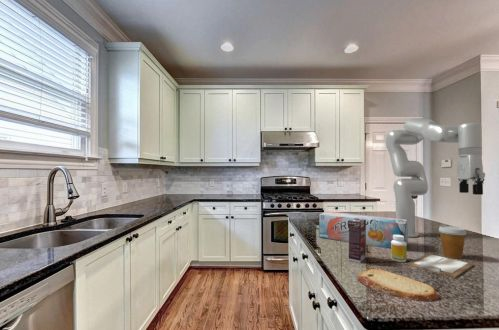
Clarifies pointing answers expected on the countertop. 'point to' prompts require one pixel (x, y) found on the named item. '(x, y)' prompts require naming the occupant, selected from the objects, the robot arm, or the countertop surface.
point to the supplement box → (357, 240)
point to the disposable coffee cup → (452, 241)
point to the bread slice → (397, 285)
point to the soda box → (376, 228)
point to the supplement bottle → (398, 248)
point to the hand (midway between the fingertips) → (470, 193)
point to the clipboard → (441, 265)
